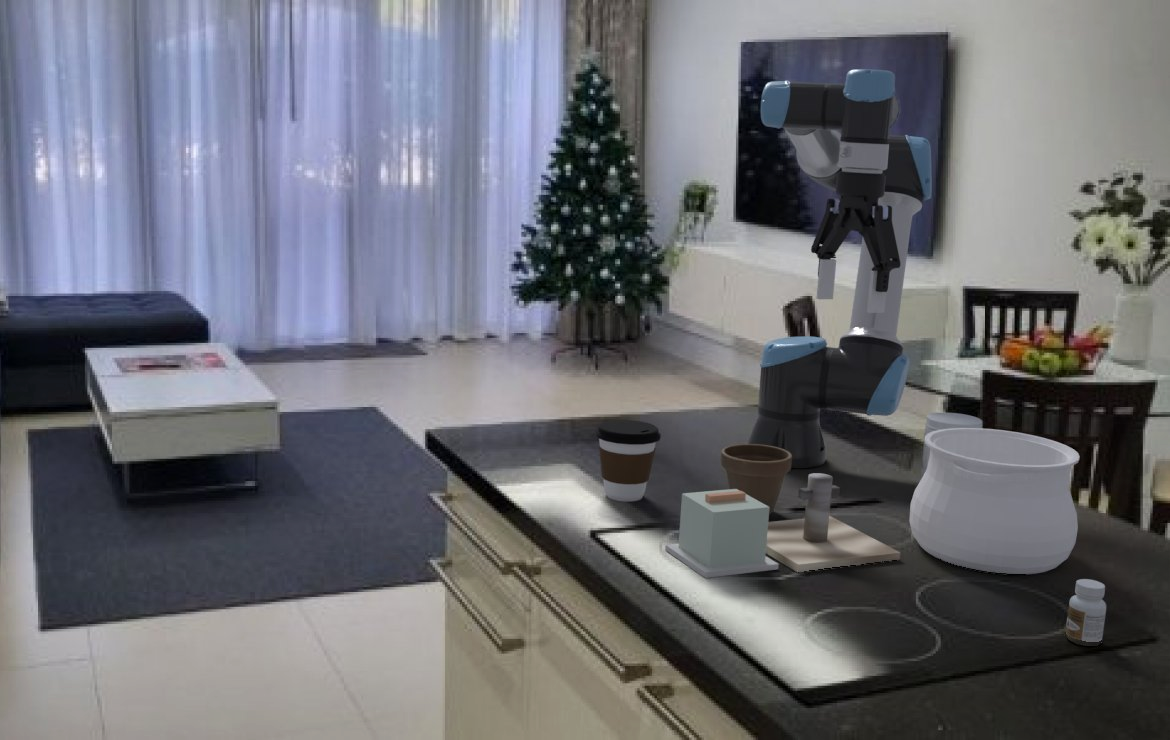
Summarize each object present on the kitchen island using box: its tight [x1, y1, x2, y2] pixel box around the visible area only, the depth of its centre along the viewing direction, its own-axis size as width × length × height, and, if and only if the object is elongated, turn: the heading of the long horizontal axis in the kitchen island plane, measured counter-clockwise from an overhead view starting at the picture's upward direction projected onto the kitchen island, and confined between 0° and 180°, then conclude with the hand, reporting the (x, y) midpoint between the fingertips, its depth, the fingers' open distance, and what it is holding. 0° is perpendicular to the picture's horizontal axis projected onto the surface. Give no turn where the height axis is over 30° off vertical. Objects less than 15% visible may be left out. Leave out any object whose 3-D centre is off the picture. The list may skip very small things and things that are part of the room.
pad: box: [664, 542, 779, 579], centre depth 187 cm, size 12×12×1 cm
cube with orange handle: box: [678, 489, 770, 568], centre depth 186 cm, size 9×9×9 cm
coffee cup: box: [594, 419, 662, 503], centre depth 214 cm, size 11×11×12 cm
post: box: [766, 472, 901, 573], centre depth 193 cm, size 18×18×11 cm
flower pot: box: [720, 443, 792, 515], centre depth 210 cm, size 12×11×10 cm
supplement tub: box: [919, 412, 983, 482], centre depth 221 cm, size 10×10×15 cm
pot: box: [909, 427, 1081, 575], centre depth 194 cm, size 26×24×17 cm
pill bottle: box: [1065, 578, 1107, 642], centre depth 163 cm, size 4×4×8 cm
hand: (849, 305), depth 204 cm, fingers open, 13 cm apart
